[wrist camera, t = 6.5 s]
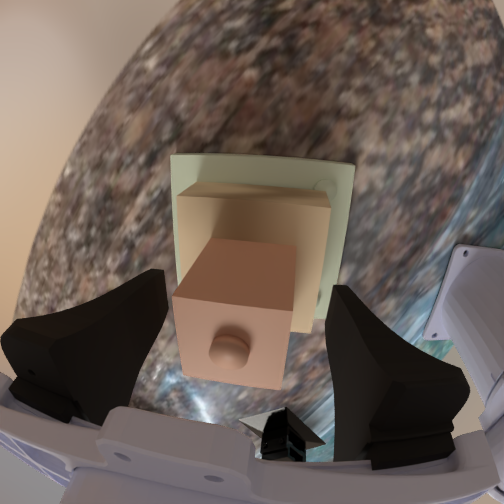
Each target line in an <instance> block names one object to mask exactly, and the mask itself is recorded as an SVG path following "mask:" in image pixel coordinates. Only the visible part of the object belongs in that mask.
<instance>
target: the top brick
mask: <svg viewBox="0 0 504 504" xmlns="http://www.w3.org/2000/svg"><path fill="white" fill-rule="evenodd" d="M295 266H296V246H292V245H282V244H272V243H261V242H251V241H240V240H230V239H219V238H210V240H209V241H208V243H207V244H206V246H205V247H204V249H203V250H202V251H201V253H200V254H199V256H198V257H197V259H196V260H195V262H194V263H193V265H192V266H191V268H190V269H189V271H188V272H187V274H186V275H185V277H184V278H183V280H182V281H181V283H180V284H179V286H178V287H177V289H176V290H175V292H174V293H173V295H172V302H173V310H174V318H175V325H176V332H177V339H178V345H179V352H180V358H181V364H182V370H183V375H186V376H191V377H196V378H201V379H207V380H212V381H218V382H224V383H230V384H237V385H243V386H251V387H258V388H266V389H275V390H281V385H282V379H283V373H284V367H285V361H286V355H287V348H288V342H289V335H290V329H291V322H292V315H293V303H294V286H295Z"/></svg>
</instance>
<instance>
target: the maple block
mask: <svg viewBox="0 0 504 504" xmlns="http://www.w3.org/2000/svg"><path fill="white" fill-rule="evenodd" d="M176 198H177V219H178V236H179V251H180V265H181V277H182V280H183V278H184V277H185V275H186V274H187V272H188V271H189V269H190V268H191V266H192V265H193V263H194V262H195V260H196V259H197V257H198V256H199V254H200V253H201V251H202V250H203V249H204V247H205V246H206V244H207V243H208V241H209V240H210V238H219V239H230V240H240V241H251V242H261V243H272V244H282V245H292V246H296V266H295V286H294V303H293V315H292V322H291V329H290V331H291V332H301V333H311V329H312V324H313V319H314V314H315V308H316V303H317V298H318V292H319V286H320V280H321V275H322V269H323V262H324V256H325V249H326V243H327V236H328V229H329V222H330V214H331V206H330V203H329V199H328V196H327V193H326V191H318V190H308V189H298V188H287V187H276V186H263V185H250V184H234V183H217V182H195V183H194V184H192V185H191V186H190V187H188V188H187V189H185V190H184V191H183V192H181V193H180V194H178V195H177V196H176Z"/></svg>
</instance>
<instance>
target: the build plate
mask: <svg viewBox="0 0 504 504" xmlns="http://www.w3.org/2000/svg"><path fill="white" fill-rule="evenodd" d="M354 172H355V165H353V164H352V163H344V162H336V161H327V160H317V159H307V158H296V157H283V156H268V155H250V154H225V153H174V154H172V155H171V190H172V211H173V228H174V243H175V256H176V268H177V279H178V286H179V284H180V283H181V281H182V277H181V265H180V251H179V236H178V219H177V198H176V196H177V195H178V194H180V193H181V192H183V191H184V190H185V189H187V188H188V187H190V186H191V185H192V184H194V183H195V182H217V183H234V184H250V185H263V186H276V187H287V188H298V189H308V190H318V191H326V193H327V196H328V199H329V203H330V206H331V214H330V222H329V229H328V236H327V243H326V249H325V256H324V262H323V269H322V275H321V280H320V286H319V292H318V298H317V303H316V308H315V314H314V318H316V319H326V316H327V311H328V307H329V302H330V297H331V292H332V287H333V285H336V284H337V279H338V274H339V269H340V264H341V258H342V253H343V247H344V241H345V235H346V229H347V223H348V216H349V210H350V203H351V196H352V188H353V180H354Z"/></svg>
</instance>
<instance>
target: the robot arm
mask: <svg viewBox="0 0 504 504" xmlns="http://www.w3.org/2000/svg"><path fill="white" fill-rule="evenodd" d="M465 250H466V253H465V254H463V253H464V251H465ZM168 309H169V307H168V300H167V292H166V284H165V275H164V270H159V269H150V270H147V271H145V272H143V273H142V274H140V275H138V276H136V277H135V278H133V279H131V280H129V281H128V282H126V283H124V284H122V285H121V286H119V287H117V288H115V289H113V290H111V291H109V292H108V293H106V294H104V295H102V296H100V297H98V298H96V299H93V300H91V301H89V302H86V303H84V304H81V305H79V306H76V307H73V308H70V309H66V310H63V311H60V312H56V313H52V314H48V315H43V316H37V317H30V318H22V319H16V320H15V321H14V323H13V324H12V325H11V326H10V327H9V328H8V329H7V330H6V331H5V332H4V333H3V334H2V336H1V340H0V342H1V346H2V350H3V352H4V354H5V356H6V358H7V360H8V361H9V363H10V365H11V367H12V368H13V370H14V372H15V373H16V375H17V377H16V379H15V380H14V381H13V380H12V379H11V378H10V377H8V376H7V375H5V374H3V373H1V372H0V446H2V447H3V448H5V449H6V450H7V451H9V452H10V453H12V454H13V455H14V456H16V457H17V458H19V459H20V460H22V461H23V462H25V463H26V464H28V465H29V466H31V467H32V468H34V469H36V470H37V471H39V472H40V473H42V474H43V475H45V476H47V477H48V478H50V479H52V480H53V481H55V482H57V483H58V484H60V485H62V486H64V487H66V490H65V492H64V495H63V497H62V499H61V502H60V504H471V503H472V502H474V501H475V500H477V499H478V498H480V497H481V496H483V495H484V494H486V493H488V494H489V495H490V496H491V497H492V498H494V499H495V500H497V501H499V502H500V503H502V504H504V250H503V249H495V248H488V247H480V246H473V245H465V244H458V245H456V246H455V247H454V249H453V252H452V255H451V258H450V262H449V265H448V268H447V271H446V274H445V277H444V280H443V283H442V286H441V288H440V291H439V294H438V297H437V299H436V302H435V305H434V307H433V310H432V312H431V315H430V317H429V320H428V322H427V324H426V327H425V329H424V331H423V338H424V339H425V340H447V339H451V340H452V341H453V343H454V345H455V347H456V349H457V351H458V353H459V354H460V356H461V358H462V360H463V362H464V364H465V366H466V368H467V370H468V372H469V373H470V376H471V378H472V380H473V382H474V384H475V386H476V388H477V390H478V392H479V395H480V397H481V399H482V401H483V403H484V406H485V410H484V412H483V413H482V414H481V415H480V417H479V420H480V422H481V425H482V428H483V430H478V431H474V432H471V433H467V434H463V435H460V436H458V437H456V438H454V439H453V438H452V435H451V432H452V431H453V430H454V426H453V423H452V420H453V419H454V417H455V416H456V415H457V413H458V412H459V411H460V410H461V408H462V407H463V406H464V404H465V403H466V401H467V399H468V397H469V394H470V387H469V384H468V382H467V380H466V378H465V376H464V374H463V372H462V370H461V368H459V367H456V366H454V365H451V364H448V363H446V362H443V361H441V360H439V359H437V358H435V357H433V356H431V355H429V354H427V353H425V352H423V351H421V350H419V349H418V348H416V347H415V346H413V345H411V344H410V343H408V342H407V341H405V340H404V339H403V338H401V337H400V336H399V335H397V334H396V333H395V332H393V331H392V330H391V329H390V328H388V327H387V326H386V325H385V324H384V323H383V322H382V321H381V320H380V319H378V318H377V317H376V316H375V315H374V314H373V313H372V312H371V311H370V310H369V309H368V307H367V306H366V305H365V304H364V303H363V302H362V301H361V300H360V299H359V298H358V297H357V295H356V294H355V293H354V292H353V291H352V290H351V289H350V288H349V287H348V286H347V285H333V287H332V292H331V297H330V302H329V307H328V311H327V316H326V321H325V336H326V347H327V352H328V358H329V364H330V369H331V375H332V381H333V388H334V406H335V438H334V459H333V462H284V461H268V460H263V459H259V458H255V449H256V448H255V446H254V444H253V442H252V440H251V439H250V438H249V437H248V436H246V435H245V434H243V433H241V432H239V431H238V430H236V429H233V428H229V427H225V426H221V425H218V424H211V423H205V422H199V421H193V420H188V419H182V418H177V417H172V416H168V415H163V414H159V413H154V412H150V411H146V410H142V409H138V408H132V407H128V404H129V401H130V398H131V395H132V391H133V388H134V385H135V383H136V380H137V377H138V374H139V371H140V369H141V367H142V365H143V363H144V361H145V359H146V357H147V355H148V353H149V351H150V349H151V347H152V345H153V343H154V342H155V340H156V338H157V336H158V334H159V332H160V330H161V328H162V326H163V323H164V321H165V318H166V315H167V312H168ZM434 333H435V334H434Z"/></svg>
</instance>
